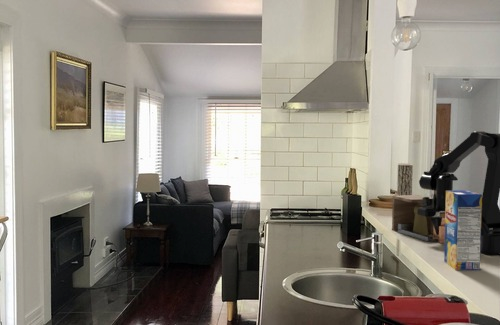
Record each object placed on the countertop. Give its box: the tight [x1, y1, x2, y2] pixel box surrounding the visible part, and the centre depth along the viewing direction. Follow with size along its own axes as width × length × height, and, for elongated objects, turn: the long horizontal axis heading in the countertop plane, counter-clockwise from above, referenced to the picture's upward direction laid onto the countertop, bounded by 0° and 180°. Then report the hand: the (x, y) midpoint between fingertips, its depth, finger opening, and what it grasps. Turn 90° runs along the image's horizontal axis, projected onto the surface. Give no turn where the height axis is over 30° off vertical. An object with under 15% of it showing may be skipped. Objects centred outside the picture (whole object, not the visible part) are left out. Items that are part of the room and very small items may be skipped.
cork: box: [413, 206, 429, 236], centre depth 212 cm, size 6×6×11 cm
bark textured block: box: [396, 162, 414, 196], centre depth 257 cm, size 7×7×25 cm
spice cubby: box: [391, 194, 434, 235], centre depth 215 cm, size 14×12×14 cm
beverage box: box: [443, 189, 483, 271], centre depth 160 cm, size 7×11×22 cm, turn 177°
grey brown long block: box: [397, 217, 445, 244], centre depth 205 cm, size 23×9×8 cm, turn 18°
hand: (443, 234), depth 198 cm, fingers closed on grey brown long block, 4 cm apart
